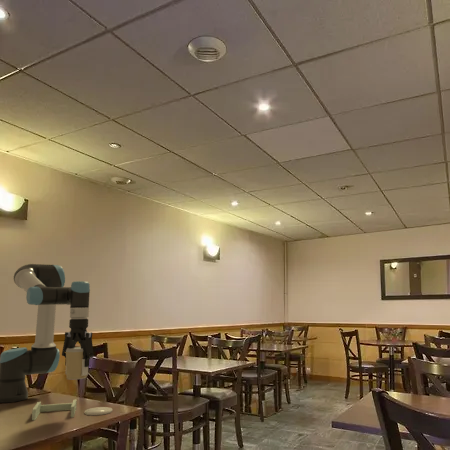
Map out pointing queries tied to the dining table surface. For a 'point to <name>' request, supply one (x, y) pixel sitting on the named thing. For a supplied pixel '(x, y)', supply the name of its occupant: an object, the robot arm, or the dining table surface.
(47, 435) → the dining table surface
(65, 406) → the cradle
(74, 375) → the coffee cup
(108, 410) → the coaster
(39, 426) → the dining table surface
